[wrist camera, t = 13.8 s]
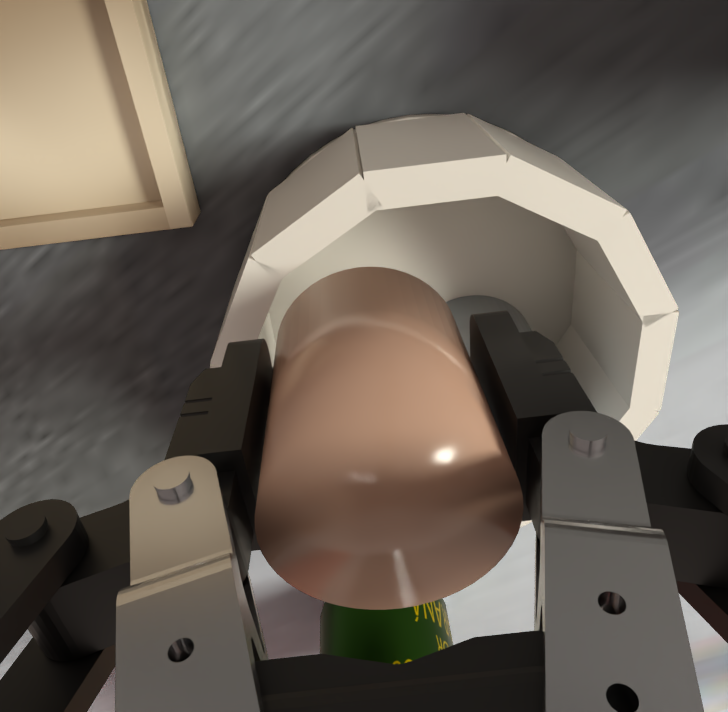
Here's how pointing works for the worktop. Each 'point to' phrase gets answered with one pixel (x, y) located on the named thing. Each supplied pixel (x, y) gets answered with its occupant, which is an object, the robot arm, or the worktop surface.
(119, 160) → the parts tray
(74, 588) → the robot arm
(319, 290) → the beige cylinder
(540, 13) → the worktop surface
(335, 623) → the beer can
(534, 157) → the bowl
